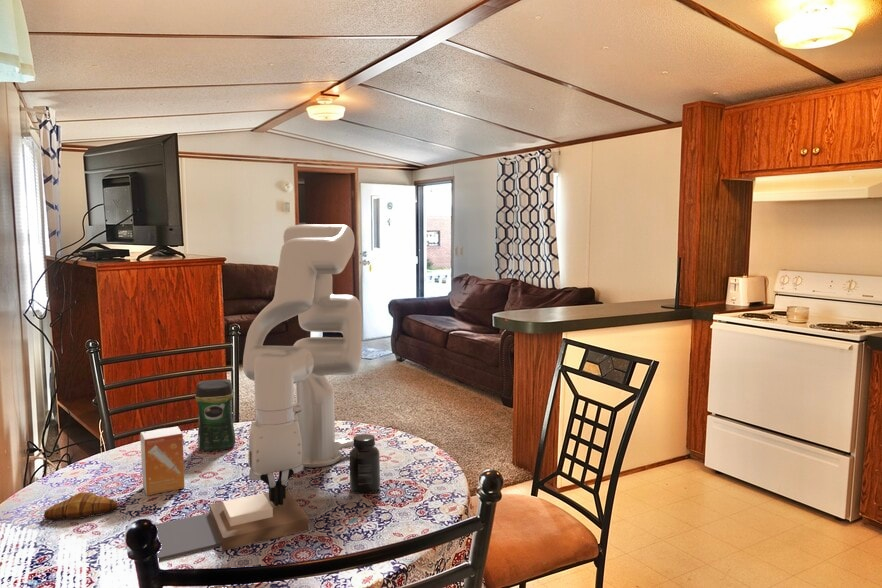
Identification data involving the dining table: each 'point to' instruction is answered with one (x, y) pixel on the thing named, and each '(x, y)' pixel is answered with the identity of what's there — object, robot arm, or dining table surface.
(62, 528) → the dining table surface
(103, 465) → the dining table surface
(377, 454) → the supplement bottle
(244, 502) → the block
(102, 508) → the croissant
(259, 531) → the board
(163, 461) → the small box
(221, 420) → the coffee jar
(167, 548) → the mat
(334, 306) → the robot arm
